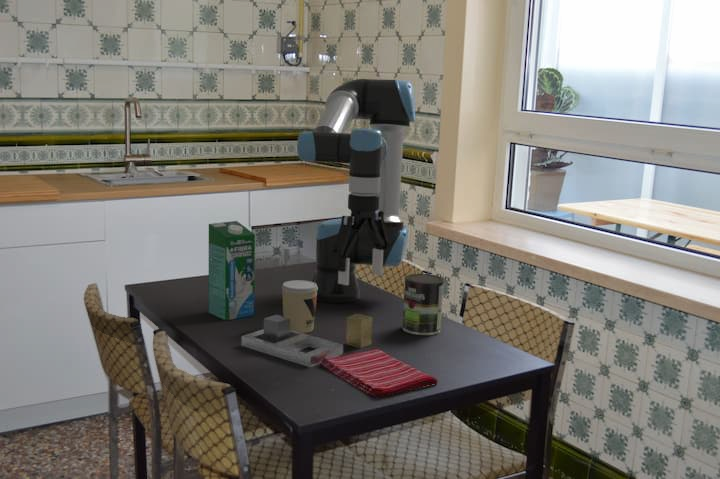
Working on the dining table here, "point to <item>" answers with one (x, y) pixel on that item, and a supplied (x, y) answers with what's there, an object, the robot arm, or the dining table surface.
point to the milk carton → (231, 270)
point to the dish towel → (377, 373)
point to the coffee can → (422, 304)
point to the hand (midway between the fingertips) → (360, 279)
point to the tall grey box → (276, 328)
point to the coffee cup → (300, 304)
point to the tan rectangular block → (359, 330)
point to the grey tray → (294, 347)
